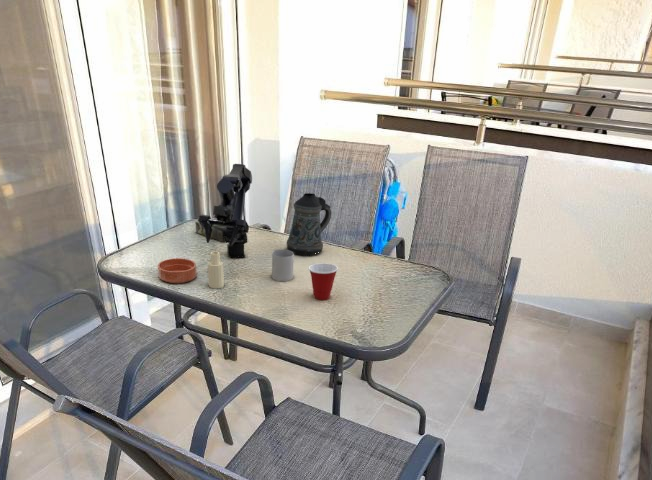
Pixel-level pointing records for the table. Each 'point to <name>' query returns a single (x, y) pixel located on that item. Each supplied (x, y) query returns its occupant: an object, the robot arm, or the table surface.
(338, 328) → the table surface
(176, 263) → the bowl
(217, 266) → the bottle
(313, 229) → the beer stein
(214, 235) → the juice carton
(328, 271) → the plastic cup
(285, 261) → the cup
